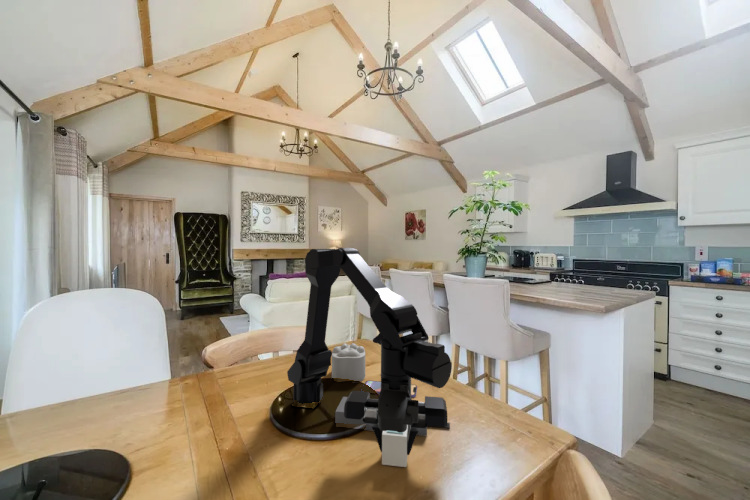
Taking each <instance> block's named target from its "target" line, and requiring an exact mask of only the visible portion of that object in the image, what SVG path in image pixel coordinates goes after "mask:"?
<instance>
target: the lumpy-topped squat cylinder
mask: <svg viewBox="0 0 750 500" xmlns="http://www.w3.org/2000/svg"><path fill="white" fill-rule="evenodd" d="M331 351H332V356H331V379H332V378H342V379H350V380H354V381H360V382H362V381H363V380H365V378H366V350H365V347H364V346H362V345H357V344H356V343H354V342H352V343H351V344H348V343H345V342H344V343H342V345H339V346H338V345H337V346H334V347H333V349H332V350H331Z"/></svg>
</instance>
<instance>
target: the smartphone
mask: <svg viewBox="0 0 750 500" xmlns="http://www.w3.org/2000/svg"><path fill="white" fill-rule="evenodd" d="M364 384H366V385H368V386H369V387H371V388H372V389H373V390H375V391H376V392H377V393H378V394H377V395H379V393H380V390H381V380H380V381H379V380H378V381H377V380H366V381H365V382H364ZM417 391H418V386H417V385H416V384H412V383H411V398H416V397H417Z"/></svg>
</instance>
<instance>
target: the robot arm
mask: <svg viewBox="0 0 750 500" xmlns="http://www.w3.org/2000/svg"><path fill="white" fill-rule="evenodd" d="M304 263H305V264H304V265H305V268H304V269H305V275H306V277H307V279H308V281H309V283H310V288H309V295H308V296H309V297H308V306H307V313H306V314H307V316H306V324H305V325H306V326H305V333H304V334H305V335H304V340H303V342H302V343H301V344H300V346H299V347H298V348H297V350H296V354H295V357H294V358H295V359H294V362H293V364H292V365H291V366H290V367H289V369H288V370H287V372H286V373H287V380H288V381H289V382H291V383H292V384H293V401H294V400H297V402H299V403H302V404H303V403H312V402H319V401H320V400H321V399H322V397H323V398H324V383H323V382H322V378H325V377H326V376H327V375H328V370H329V368H330V366H332V351H333V350H331V349H329V347H328V345H327V344H326V335H327V334H326V332H327V325H328V319H329V309H330V302H331V293H332V287H333V285H334V283H335V282H336V281H337V279H338V278H339V276H340V273H341V271H343V273H344V274H345V276H346V277H347V278H348V280H349V281H350V282H351V283H352V284H353V286H354V287H355V288H356V290H357V291H358V293H360V295H361V297H363V299H364V300H365V302H367V304H368V306H369V315H370V319H371V321H372V322H373V324H374V326H375V327H376V329H377V331H378V334H377V335H376V336H375V337H374V338H373V339H372V342H373V343H374V344H377V345H380V381H381V390H380V393H379V394H378V397H377V398H371V396H370V395H371V394H370V393H369V392H364V391H362V390H351V391H350V392H349V394H348V396H347V397H348V398H347V400H346V402H345V406H344V417H345V418H348V419H359V420H360V419H361V418H362V417H363V416H364V417H363V423H365V424H369V425H370V426H371V427H372V429H373V431H372V432H373V433H374V435H375V438H376V442H377V444H378V447H379V450H380V452H381V453H382V433H383V431H387V430H389V431H397V432H405V431H406V429H407V425H410V428H409V434H408V443H407V456H409V455H410V454H411V452H412V449H413V445H414V443H415V440H416V437H417V436H418V435H417V434H418V432H419V431H420V430H421V429H426V428H427V429H428V427H435V426H436V427H437V428H446V426H447V423H448V409H447V408H448V407H447V403H446V400H445V399H444V397H440V396H429V395H428V396H427V395H426V396H424V401H419V400H417V399H412V398H411V384H412V379H414V380H416V381H419V382H421V383H423V384H424V383H425V384H427V385H429V386H431V387H435V388H437V389H442V388H443V387H445V386H446V384H447V383H448V382H449V380H450V377H451V374H452V373H451V372H452V365H453V364H452V362H451V358H450V355H449V354H448V353H447V352H446V351H445V349H446V347H445V345H444V344H440V343H433V342H429V341H428V340H429V338H430V337H429V336H428V333H427V332H426V329H425V328H424V326H423V323H422V322H421V320H420V318H419V316H418V311H417V309H416V308H415V306H414V305H413V304H412V303H410V301H408V300H407V299H406V298H405V297H404V296H402V295H400V294H398V293H396V292H394V291H392V290H391V289H389V288H388V287H387V286H386V284H385V283H384V282H383V281H382V279H380V277H379V276H378V275H377V274H376V273H375V272H374V270H373V269H372V268H371V267H370V265H369V264H367V262H366V261H365V260H364V258H363V257H362V256H361V254H360V252H359V250H358V249H356V248H354V247H338V248H312V249H310V250H309V251H308V252H307V253H306V255H305V257H304ZM409 332H411V333H409ZM406 333H409V334H406ZM402 334H406V335H403V336H400V335H402ZM376 399H378V400H376ZM322 400H323V399H322ZM427 424H428V425H429V426H427Z"/></svg>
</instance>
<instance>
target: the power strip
mask: <svg viewBox="0 0 750 500" xmlns="http://www.w3.org/2000/svg"><path fill="white" fill-rule="evenodd" d="M347 398H348V396H342V398H341V400H340V402H339V404H338V406H337V408H336V409H335V416H334V417H335V421H334V422H335V423H344V424H347V423H348V424H365V423H363V417H364V416H363V417H362V418H361V419H360V420H359V419H348V418H345V417H344V406H345V402H346V400H347ZM375 399H376V400H378V398H375ZM335 423H334V424H335ZM428 427H430V426H429V425H428V424H427V428H426V429H421V430H420V431H419V432H418V434H417V436H424V437H428ZM434 427H436V426H434ZM409 428H410V425H408V435H409ZM445 428H447V429H448V428H449V429H450V428H451V423H450V422H447V426H446V427H445ZM363 431H371V432H374V431H373V429H372V427H371V426H370V425H369V424H366V428H365V429H364V430H363Z"/></svg>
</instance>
